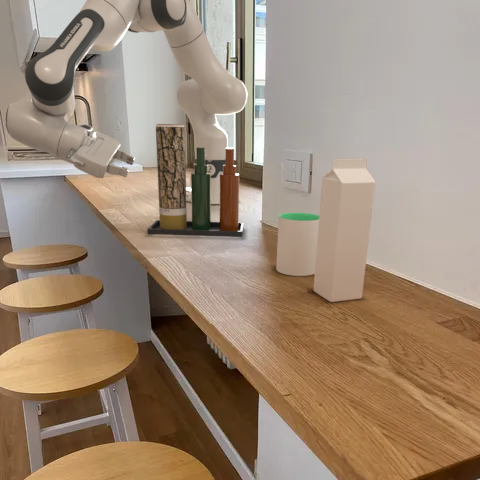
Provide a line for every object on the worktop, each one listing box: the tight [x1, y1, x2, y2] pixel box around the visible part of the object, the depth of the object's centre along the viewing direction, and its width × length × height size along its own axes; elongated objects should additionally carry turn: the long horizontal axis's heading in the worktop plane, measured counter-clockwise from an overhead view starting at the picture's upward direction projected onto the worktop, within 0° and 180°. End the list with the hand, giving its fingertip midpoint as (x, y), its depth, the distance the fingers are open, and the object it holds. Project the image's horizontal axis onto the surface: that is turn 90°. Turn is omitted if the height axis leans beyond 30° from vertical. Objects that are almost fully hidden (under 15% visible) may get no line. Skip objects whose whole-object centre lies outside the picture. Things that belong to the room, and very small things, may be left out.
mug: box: [275, 212, 319, 277], centre depth 96 cm, size 12×8×10 cm, turn 109°
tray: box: [146, 219, 245, 238], centre depth 126 cm, size 11×23×2 cm, turn 88°
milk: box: [312, 158, 376, 303], centre depth 79 cm, size 6×6×22 cm
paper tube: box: [155, 123, 188, 230], centre depth 121 cm, size 7×7×25 cm
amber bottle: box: [218, 147, 240, 231], centre depth 122 cm, size 5×5×20 cm
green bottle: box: [190, 147, 212, 230], centre depth 122 cm, size 5×5×20 cm
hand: (130, 167), depth 123 cm, fingers open, 8 cm apart
